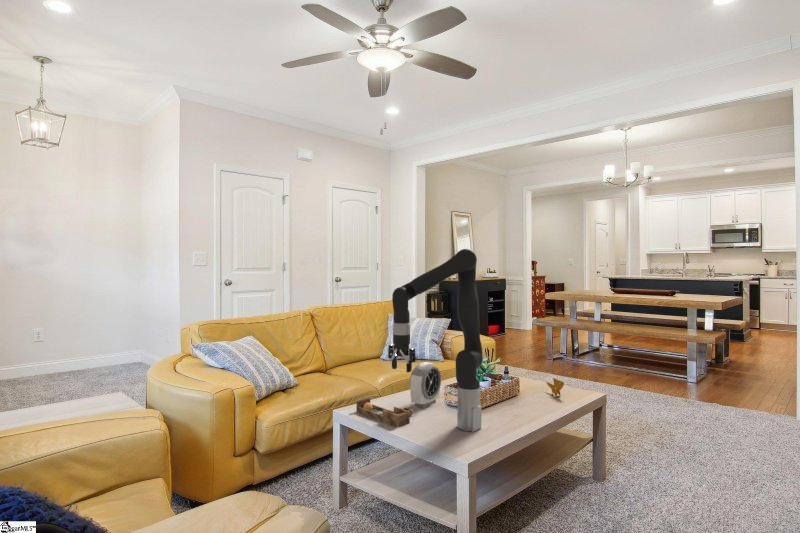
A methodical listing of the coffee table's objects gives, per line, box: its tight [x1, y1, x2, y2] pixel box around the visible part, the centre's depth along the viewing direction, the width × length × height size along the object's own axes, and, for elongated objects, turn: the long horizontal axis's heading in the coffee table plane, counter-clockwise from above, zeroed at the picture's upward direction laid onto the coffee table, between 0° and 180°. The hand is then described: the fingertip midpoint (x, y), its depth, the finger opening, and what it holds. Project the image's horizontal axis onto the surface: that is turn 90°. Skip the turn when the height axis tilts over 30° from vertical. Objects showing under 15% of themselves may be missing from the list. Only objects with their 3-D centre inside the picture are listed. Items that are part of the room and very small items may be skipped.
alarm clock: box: [409, 361, 442, 409], centre depth 218 cm, size 18×8×20 cm, turn 143°
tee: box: [402, 407, 413, 417], centre depth 202 cm, size 4×4×3 cm
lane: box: [355, 397, 411, 428], centre depth 199 cm, size 27×7×5 cm, turn 45°
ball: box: [363, 402, 373, 410], centre depth 206 cm, size 4×4×4 cm
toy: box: [545, 377, 565, 397], centre depth 235 cm, size 3×16×10 cm, turn 14°
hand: (401, 370), depth 193 cm, fingers open, 8 cm apart
